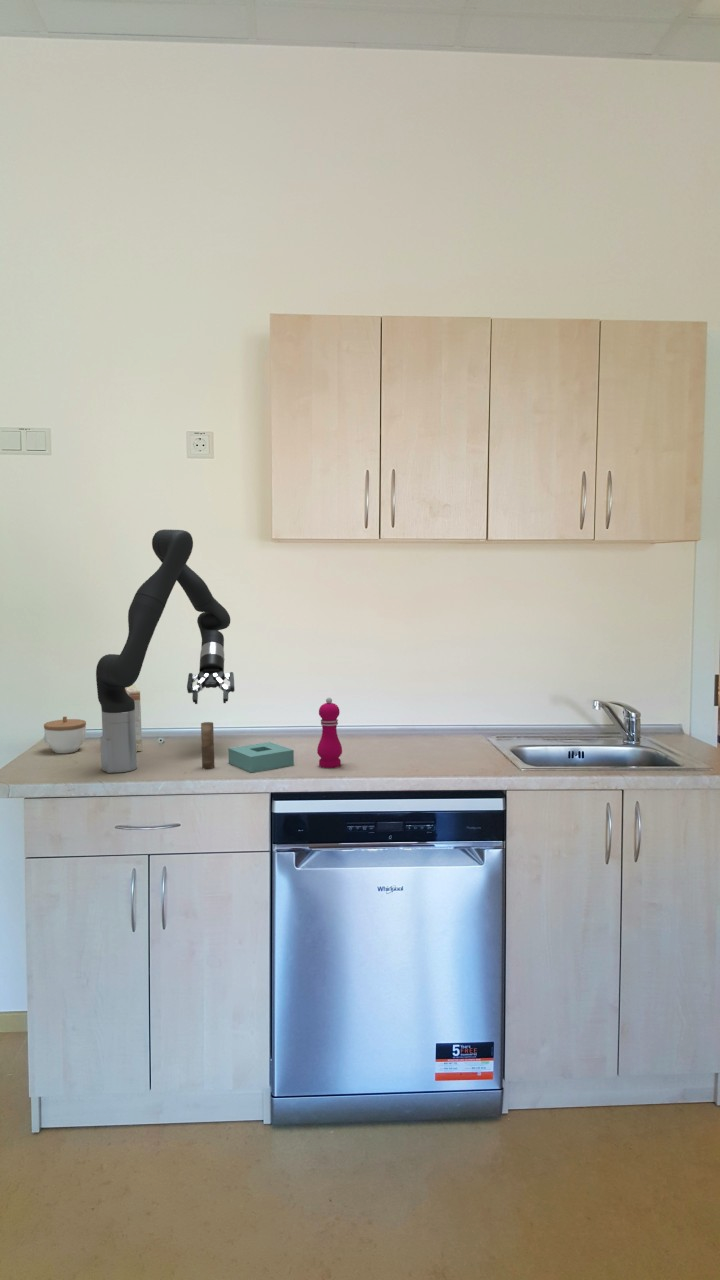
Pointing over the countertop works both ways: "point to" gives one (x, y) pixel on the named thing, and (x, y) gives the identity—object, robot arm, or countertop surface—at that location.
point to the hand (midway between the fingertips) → (210, 702)
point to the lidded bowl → (65, 734)
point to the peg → (207, 745)
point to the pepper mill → (329, 736)
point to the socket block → (261, 756)
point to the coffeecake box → (136, 714)
